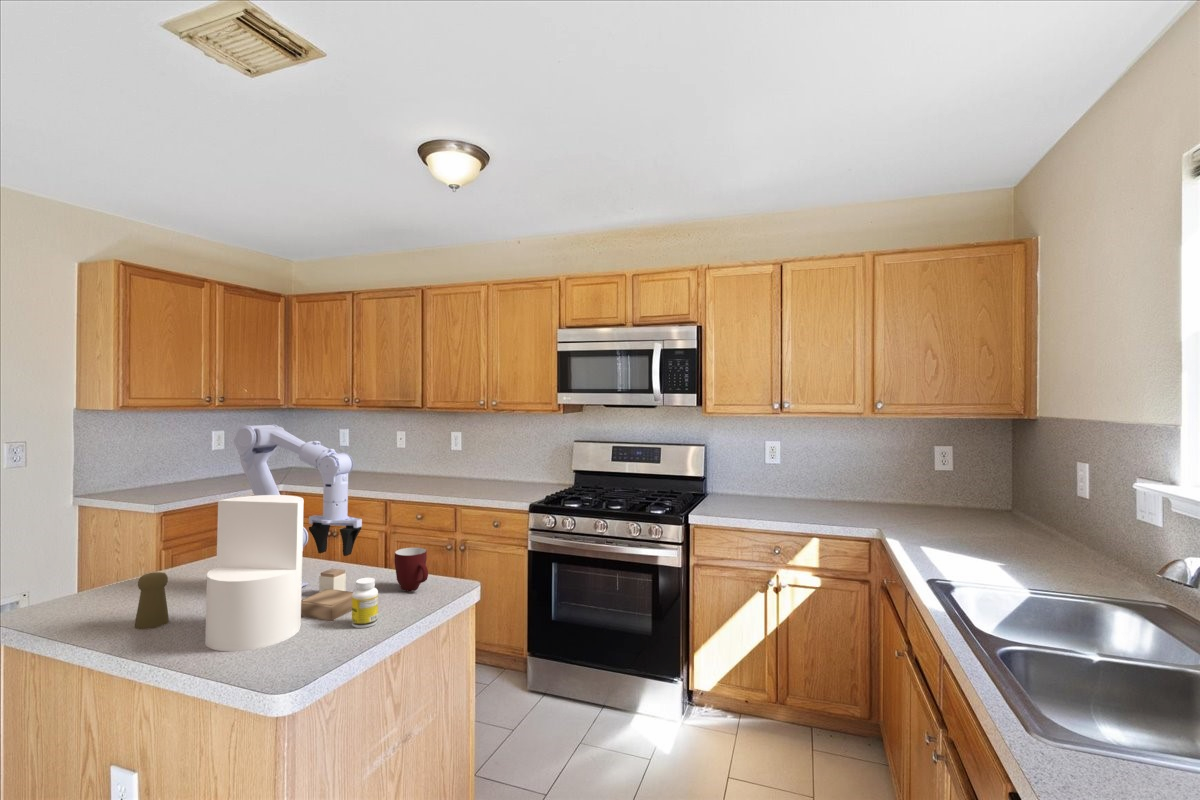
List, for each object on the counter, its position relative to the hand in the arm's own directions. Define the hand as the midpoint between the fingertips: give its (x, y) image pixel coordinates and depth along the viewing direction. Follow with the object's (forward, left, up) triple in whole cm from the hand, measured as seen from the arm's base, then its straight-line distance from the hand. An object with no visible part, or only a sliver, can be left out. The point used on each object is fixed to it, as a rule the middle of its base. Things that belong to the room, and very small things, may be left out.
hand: (334, 553), depth 145 cm
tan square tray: (+7, -9, -10) cm, 16 cm away
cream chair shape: (+2, -25, -11) cm, 27 cm away
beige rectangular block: (0, 0, -11) cm, 11 cm away
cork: (-23, -28, -11) cm, 38 cm away
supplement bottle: (+20, -13, -11) cm, 26 cm away
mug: (+17, +10, -11) cm, 22 cm away
